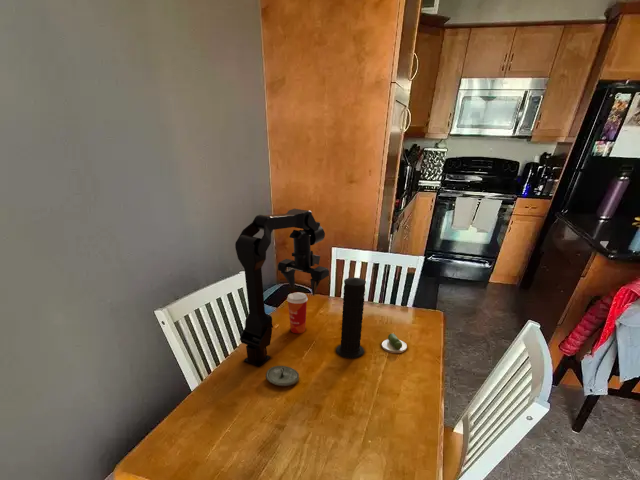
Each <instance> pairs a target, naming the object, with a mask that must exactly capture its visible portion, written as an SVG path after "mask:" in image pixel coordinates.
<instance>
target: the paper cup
mask: <svg viewBox="0 0 640 480" xmlns="http://www.w3.org/2000/svg"><path fill="white" fill-rule="evenodd" d="M308 300H309V298H308V296H307V294H305V293H304V292H299V291H297V292H292V293H289V294H288V295H287V298H286V301H287V307H288V316H289V317H288V318H289V324H290V332H291V333H293V334H302V333H304V332H306V325H307V307H308V305H307V304H308Z"/></svg>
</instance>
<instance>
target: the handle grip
mask: <svg viewBox="0 0 640 480" xmlns="http://www.w3.org/2000/svg"><path fill="white" fill-rule="evenodd" d="M343 283H344V286H343V293H342V294H343V296H342V297H343V298H342V315H341V318H342V319H341V335H340V344H339V345H338V346H337V347H336V348H335V352H336V354H337V355H338V356H340V357H342V358H344V359H357V358H360V357H362V356H363V355H364V354H365V349H364V347H363V346H361V340H362V332H363V331H362V330H363V329H362V328H363V319H364V309H365V308H364V305H365V295H366V285H367V281H366V279H363V278H360V277H347V278H345V279H344V280H343Z"/></svg>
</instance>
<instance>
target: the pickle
mask: <svg viewBox="0 0 640 480" xmlns="http://www.w3.org/2000/svg"><path fill="white" fill-rule="evenodd" d="M381 348H382V349H383V350H384V351H385V352H387V353H392V354H401V353H404V352H406V351H407V349H408V345H407V343H406V342H405V341H404V340H401V339H399V337H398V335H396V334H395V333H393V332H391V333H389V334H388V335H387V338H386V339H384V340H383V341H382V342H381Z"/></svg>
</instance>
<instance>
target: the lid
mask: <svg viewBox="0 0 640 480" xmlns="http://www.w3.org/2000/svg"><path fill="white" fill-rule="evenodd" d="M265 379H266V380H267V381H268V383H270V384H273V385H275V386H278V387H290V386H293V385H296V384H297V383H298V382H299V380H300V373H299V372H298V371H297V369H295V368H293V367H291V366H287V365H275V366H271V367H270V368H268V369H267V370H266V372H265Z"/></svg>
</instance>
